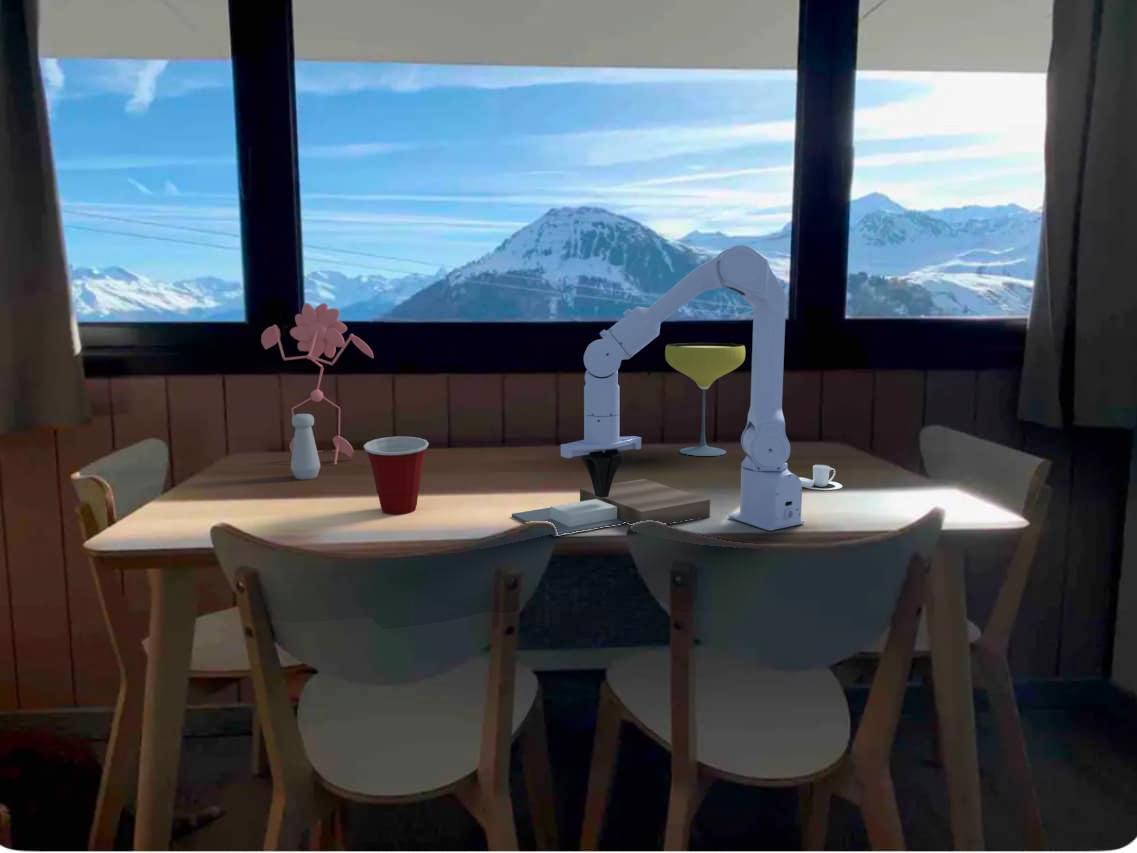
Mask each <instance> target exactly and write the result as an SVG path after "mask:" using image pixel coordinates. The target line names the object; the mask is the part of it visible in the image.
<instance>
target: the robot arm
mask: <svg viewBox="0 0 1137 853" xmlns="http://www.w3.org/2000/svg"><path fill="white" fill-rule="evenodd" d="M723 287H724V288H725V289H728V290H730V291H732V292H734V293H736V294H739V296H740V297H741V298H743V300H745V302H747V303H748V304H749V305H750V307H752V308H753V309H752V310H753V316H752V317H753V318H752V319H753V321H752V351H751V377H750V378H751V380H750V407H749V410H748V411H747V412H748V413H747V422H746V426H745V428H744V430H743V432H742V434H741V437H740V443H741V447H742V450H743V451H744V453H745V454H746V455H745V458H744V459H743V460H742V461H741V463H740V464H741V466H740V468H741V469H740V499H739V500H740V501H739V502H740V503H739V504H740V505H739V511H738V512H735V513H729V514H728V518H730V519H733V520H735V521H739V522H742V523H745V524H748V525H751V526H755V527H756V528H760V529H763V530H766V531H776V530H779V529H784V528H789V527H793V526H797V525H802V524H805V520H803V519H802V504H803V503H802V502H803V501H802V500H803V499H802V498H803V486H802V484H801V481H800V479H799V476H798V475H797V474H795V473H792V472H791V471H790V470H789V469H788V463H787V461H788V459H789V457H790V454H791V444H790V441H789V439H788V437H787V434H786V422H785V421H786V420H785V417H784V413H783V389H784V388H783V387H784V367H785V366H784V360H785V358H784V357H785V334H786V313H787V312H786V310H787V309H786V308H787V296H786V292H785V290H784V289H783V287H782V285H781V283H780V282H779V281H778V279H777V277H776V274H774V272H773V270H772V269H771V267H770V264H769V261H768V258H766V257H765V256H763V255H762V254H761V253H759V252H758V251H757V250H756V249H754V248H753V247H750V246H748V245H744V244H741V245H740V244H738V245H735V246H732V247H731V248H727V249H725V250H722V251H721V252H720V253H718V255H717V256H715V257H713V258H711V259H709V260H708V261H706V262H704V263H701V264H700V265H698V266H697V267H696V268H694V269H693V270H691V271H690V272H689V273H688V274H687V275H686V276H684V277H683V278H682V279H681V280H680V281H679V282H677V283H676V284H675V285H673V287H672V288H669V290H668V291H666V292H665V294H663V295H662V296H660V297H659V299H657V300H656V301H655V302H653V303H652V304H651V305H650V306H649V307H642V306H636V307H634V308H633V309H632V310H631V309H630V308H627V309H626V310H625V311H624V312H623V313H622V315H623V317H622V318H621V319H619V320H618V321H616V323H615V324H614V325H612V326H611V327H610V328H608V329H607V330H606V329H603V330H601V331H600V332H599V335H600V337H601V338H600V339H596V340H593V341H592V342H591V343H589V344H588V345H587V347H586V350H585V351H584V354H583V364H584V367H585V369H586V370H585V373H584V382H585V385H584V386H583V394H584V395H583V413H584V414H583V415H584V416H583V418H584V422H583V425H584V426H583V427H584V428H583V429H584V432H583V434H584V438H583V439H582V440H577V441H573V442H567V443H562V444H560V457H562V458H566V459H571V458H573V457H579V456H580V457H581V460H582V462H583V464H584V465H585V467H586V469H587V472H588V474H589V477H590V480H591V483H592V487H593V488H594V492H595V496H598V497H601V498H603V497H608V496H609V492H610V488H611V484H613V481H614V477H615V475H616V473H617V470H618V468H619V466H620V465H621V463H622V462H623V459H624V458H623V456H624V454H623V453H621V452H620V451H626V450H628V451H629V450H641V449H642V437H640V436H635V435H630V436H620V420H621V419H620V409H621V408H620V404H621V403H620V398H621V397H620V391H621V390H620V385H619V381H618V380H619V371H618V370H619V369H620V367H621V365H622V364H621V363H622V361H623V360H630V359H631V358H632V357H634V355H636V354H638V352H640V351H641V350H642V349H644V348H645V347H646V346H647V345H648V344H650V343H651V342H652V341H654V340H655V339H656V338H657V337H659V336H660V331H661V330H660V329H661V324H662V323H663V322H664V321H665V320H666V319H668V318H669V317H671V316H672V315H674V314H675V313H677V311H678V310H680V309H681V308H682V307H684V306H685V305H687V304H688V303H689V302H691V301H692V300H693V299H694V298H696V297H697V296H699V295H700V294H701V293H704V292H709V291H713V290H718V289H722V288H723Z"/></svg>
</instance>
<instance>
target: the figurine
mask: <svg viewBox="0 0 1137 853" xmlns="http://www.w3.org/2000/svg"><path fill="white" fill-rule="evenodd" d="M294 316H295V317H294V320H295V323H296V326H295V327H292V328H291V329H290V330H289V334H290V336H291V337H292V338H293V339H295V340H297V341H298V343H297V349H298V351H299V352H308V354H307V355H301V356H292V357H291V356H289V357H286V356H285V353H284V349H283V345H282V342H281V337H282V336H281V330H280V328H279V327H278V325H277V324H273V325H272V326H269V327H267V328H266V329H265V330H264V331H263V332H262V334H261V337H260V338H261V339H260V342H261V344H262V346H263V349H265V350H267V349H269V348H271V347H273V346H275V345H276V344H277V343H278V348H279V351H280V354H281V357H282V359H283V361H292V360H300V359H307V360H311V361H312V362H313V363H315V364H316V365H317V366H318V367H320V371H319V376H318V382H317V387H316V389H314V390H312V392H311V393H310V397H309V398H307V399H306V400H304V401H302V402H300V403H299V404H297V405H294V407H291V410H290V411H291V416H292V417H293V416H294V415H295V413H294V410H295V409H296V408H298V407H299V406H302V405H304V404H305V403H307V402H309V401H310V400H312V401H313V402H315V403H316V402H318V403H319V402H321V401H322V400H323V399H324V400H325V401H327V402H328V403H329V404H332V406H334V407H336V408H337V409H338V425H337V426H338V427H337V428H338V432H337V434H338V435H334V436H333V438H332V442H333V445H334V447H335V449H334V450H333V452H335V453H334V461H333V465H338V464H337V463H338V456H339V455H338V454H339V452H340V453H342V454H343V455H345V456H346V457H348V458H350V459H354V455H355V454H354V453H355V450H354V449H353V446H352V445H351V443H349V441H348V440H346V438H344V437H343V436H341V407H340V406H338V405H337V404H335V403H334V402H333V401H331V400H329V399H328V398H327V397H325V396H324V392H323V391H322V390H320V385H321V382H322V376H323V373H324V369H325V368H324V365H323V364H328V365H330V366H334V364H335V363H336V362H337V361H338V359H339V357H340V356H341V355H342V353H343V352H344V351H345V349H346V347H347V346H348V345H349V343H350V341H352V343H353V344H354V345H355V346H356V348H358V349H359V350H360V351H361V352H362V353H363V354H365V355H367V356H368V357H369V358H372V359H374V358H375V356H374V353H373V350H372V349H371V348H370V346H369V345H368V344H367V343H366V342H365V341H364V340H363V339H361V338H360V337H358V336H356V335H354V333H350V334H349V337H348V338H347V340H346V341H345V339H344V337H343V335H342V334H344V333H346V332H347V330H348V327H347V325H346V324H345V323H343V322H342V321H340V320H338V318H339V317H340V310H339V309H337V308H331V307H330V308H328V304H327V303H325V302H324V303H321V304H319V305H317V306H316V307H315V308H314V307H313V306H312V304H310V303H308V302H306V303H304V304H303V306H302V309H301V313H297V314H296V315H294ZM336 348H341V349H340V350H339V351H338V353H337V354H336V352H337V349H336ZM323 353H324V356H325V357H326V358H329V359H333V360H332V361H328V360H325V359H323V358H320V356H321V355H323ZM335 355H336V356H335ZM333 357H334V358H333ZM320 362H321V363H323V364H321V363H320ZM294 428H296V427H294ZM293 445H294V437H293V438H292V440H291V441H290V442H289V450H290V452H291V454H292V453H293ZM319 452H322V450H317V453H319ZM363 464H364V462H363V463H359V465H360V466H361V465H363Z"/></svg>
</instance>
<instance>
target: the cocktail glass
mask: <svg viewBox="0 0 1137 853" xmlns="http://www.w3.org/2000/svg"><path fill="white" fill-rule="evenodd" d="M664 354H665V355H664V356H665V361H666V362H667V364H668V365H669V366H671V368H673V369H674V370H676V371H677V372H680V373H681V374H684V375H685V376H687V377H689V378H690V379H691V380H693V381H694V383H696V385H697V386H698V388H699V389H701V390H702V415H701V433H700V441H699V444H698V445H697V446H690V447H685V448H681V449H679V453H680V454H681V453H682V454H681V455H684V454H686V455H685V456H688V455H693V456H692V457H696V456H716V457H721V456H720V455H722V456H725V455H727V450H724V449H722V448H718V447H712V446H708V445H707V439H706V390H708V389H710V387H711V386H712V384H713V383H714V382H715V381H716V380H718V379H719V378H720V377H723V376H724V375H727V374H729V373H731V372H733V371H734V370H736V369H738V368H739V367H740V366H741V365H742V364H743V363H744V361H745V359H746V347H745V345H744V344H740V343H739V344H737V343H726V342H724V343H723V342H722V343H720V342H719V343H718V342H686V343H685V342H683V343H681V342H680V343H679V342H678V343H670V344H669V343H668V344H667V345H666V346H665V351H664ZM724 454H725V455H724Z"/></svg>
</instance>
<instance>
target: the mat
mask: <svg viewBox="0 0 1137 853" xmlns="http://www.w3.org/2000/svg"><path fill="white" fill-rule="evenodd" d="M511 517H512V518H513V519H516V520H518V521H520V522H521V523H524V524H526V523H525V522H530V521H548V522H551V523H553V524H554V525H555V527H556V529H557V532H558V535H561V534H564V533H572V532H576V531H582V530H588V529H594V528H600V527H605V526H612V525H618V524H623V523H624V521H621V520H619V519H612V520H607V521H601V522H596V523H590V524H584V525H579V526H573V527H569V526H567V525H564V524H562V523H560V522H558V521H556V520H553V519H551V506H550V507H545V508H539V509H538V508H537V509H532V510H526V511H522V512H514V513H511ZM624 524H625V523H624Z"/></svg>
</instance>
